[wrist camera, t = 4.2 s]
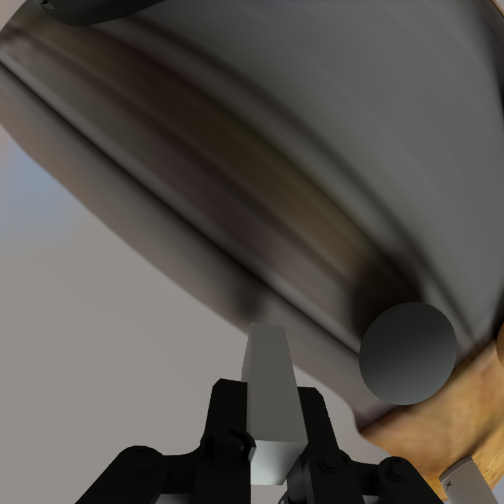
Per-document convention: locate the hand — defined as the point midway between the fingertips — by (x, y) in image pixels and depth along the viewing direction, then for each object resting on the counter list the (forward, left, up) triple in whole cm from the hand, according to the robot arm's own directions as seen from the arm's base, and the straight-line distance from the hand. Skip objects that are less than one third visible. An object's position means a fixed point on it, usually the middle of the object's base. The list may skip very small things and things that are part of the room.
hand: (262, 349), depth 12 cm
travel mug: (+29, +33, -2) cm, 44 cm away
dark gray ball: (0, +8, +1) cm, 8 cm away
